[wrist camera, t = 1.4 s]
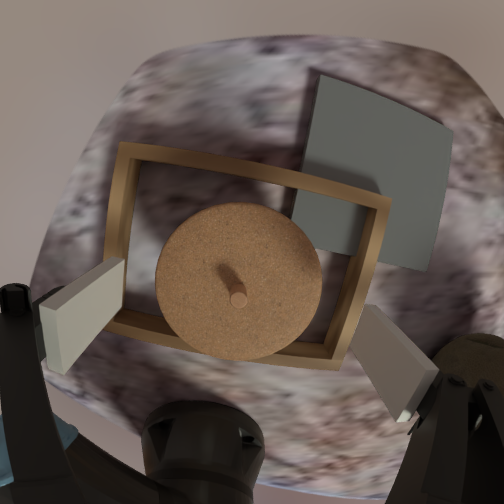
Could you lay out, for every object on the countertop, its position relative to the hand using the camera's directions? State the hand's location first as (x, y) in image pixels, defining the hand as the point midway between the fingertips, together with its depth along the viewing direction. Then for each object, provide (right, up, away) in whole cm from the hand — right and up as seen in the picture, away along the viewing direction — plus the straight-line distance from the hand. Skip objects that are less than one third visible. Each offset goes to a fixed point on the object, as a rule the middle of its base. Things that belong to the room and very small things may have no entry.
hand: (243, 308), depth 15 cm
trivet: (+12, +10, +10) cm, 18 cm away
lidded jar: (-1, +2, +11) cm, 11 cm away
